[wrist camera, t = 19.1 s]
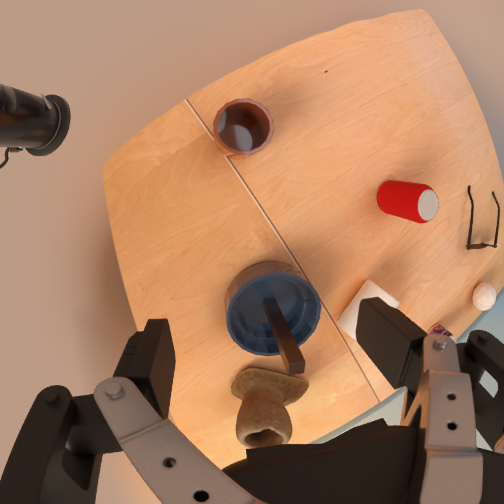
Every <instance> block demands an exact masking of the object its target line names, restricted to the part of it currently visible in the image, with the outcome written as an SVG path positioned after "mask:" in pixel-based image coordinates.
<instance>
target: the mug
mask: <svg viewBox="0 0 504 504" xmlns="http://www.w3.org/2000/svg"><path fill="white" fill-rule="evenodd" d="M372 297H379V298H381V299H382V300H383V301H384V302H386V303H387V304H388V305H389V306H391V307H394V308H397V307H398V305H399V304H400V302H399V301H398V300H396V299H395V298H394V297H392V296H391V295H390V294H388V293H387V292H386V291H385V290H383V289H382V288H381V287H379V286H378V285H377V284H375V283H374V282H372V281H371V280H370V279H367V280H366V281H365V283H364V284H363V286H362V287H361V288H360V290H359V291H358V293H357V294H356V295H355V297H354V298H353V300H352V301H351V302H350V304H349V305H348V306H347V308H346V309H345V310H344V312H343V313H342V314H341V316H340V317H339V318H338V319H337V323H338V325H339V326H340V327H341V328H342V329H343V330H344V331H345V332H346V333H347V334H348V335H349V336H351V337H352V338H353V339H355V340H356V341H357V339H356V324H357V318H358V311H359V304H360V301H361V300H362V299H366V298H372Z"/></svg>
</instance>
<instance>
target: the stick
mask: <svg viewBox="0 0 504 504" xmlns="http://www.w3.org/2000/svg"><path fill="white" fill-rule="evenodd" d="M264 311H265V313H266V316H267V319H268V322H269V324H270V327H271V330H272V333H273V335H274V338H275V341H276V343H277V346H278V349H279V352H280V354H281V357H282V360H283V362H284V365H285V368H286V371H287V373H288V376H289V375H295V374H301V373H304V368H305V360H304V358H303V356H302V353H301V351H300V349H299V347H298V345H297V343H296V341H295V339H294V337H293V335H292V333H291V330H290V328H289V326H288V324H287V322H286V320H285V318H284V316H283V314H282V312H281V309H280V307H279V305H278V303H277V301H276V299H275V298H266V299H264Z"/></svg>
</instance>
